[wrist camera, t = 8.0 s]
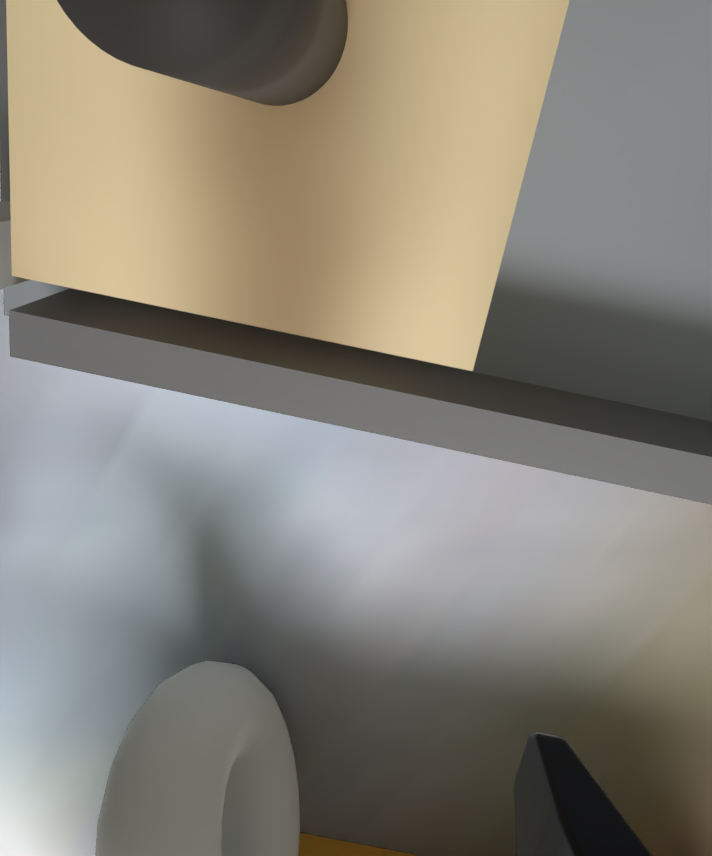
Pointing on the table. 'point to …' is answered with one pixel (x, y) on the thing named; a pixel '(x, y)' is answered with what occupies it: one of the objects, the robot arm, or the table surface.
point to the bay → (497, 287)
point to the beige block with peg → (279, 158)
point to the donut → (203, 772)
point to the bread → (340, 848)
